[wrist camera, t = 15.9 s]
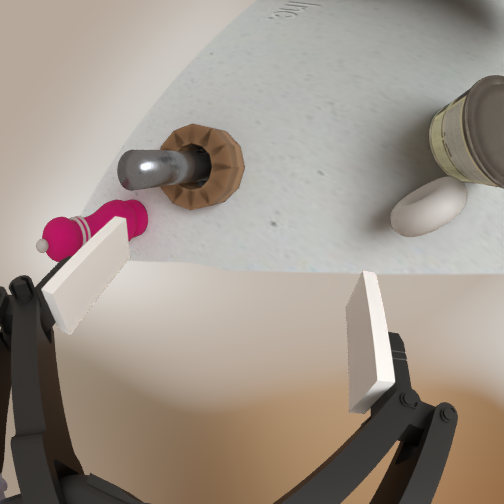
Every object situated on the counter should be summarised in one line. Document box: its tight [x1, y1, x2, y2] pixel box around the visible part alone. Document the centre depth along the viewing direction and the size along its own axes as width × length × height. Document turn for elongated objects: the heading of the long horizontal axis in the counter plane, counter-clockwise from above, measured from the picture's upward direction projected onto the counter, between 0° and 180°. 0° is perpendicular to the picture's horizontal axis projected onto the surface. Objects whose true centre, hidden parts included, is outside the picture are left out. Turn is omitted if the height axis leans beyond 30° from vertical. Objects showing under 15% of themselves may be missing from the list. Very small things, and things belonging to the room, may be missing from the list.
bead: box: [160, 124, 245, 210], centre depth 39 cm, size 11×11×4 cm
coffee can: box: [429, 75, 504, 189], centre depth 22 cm, size 10×10×14 cm
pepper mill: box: [36, 200, 148, 262], centre depth 39 cm, size 7×7×20 cm
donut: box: [391, 177, 467, 237], centre depth 28 cm, size 10×4×10 cm, turn 124°
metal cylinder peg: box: [117, 150, 212, 191], centre depth 33 cm, size 4×4×16 cm
